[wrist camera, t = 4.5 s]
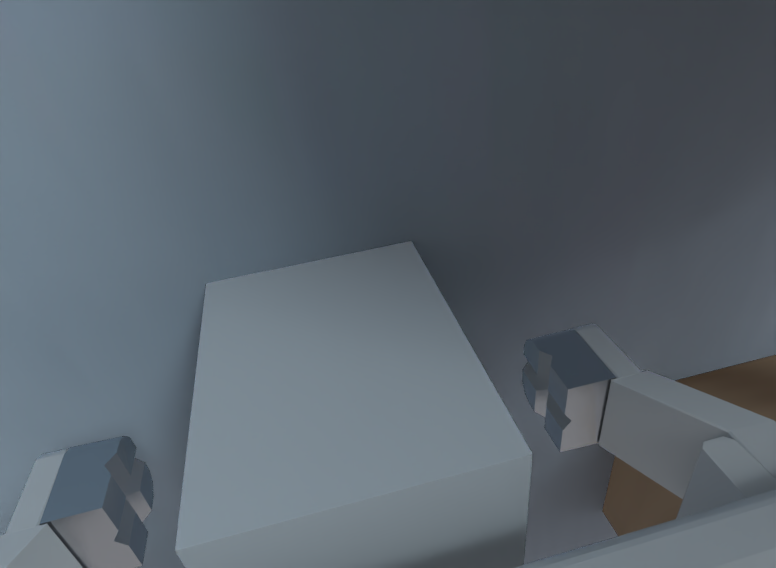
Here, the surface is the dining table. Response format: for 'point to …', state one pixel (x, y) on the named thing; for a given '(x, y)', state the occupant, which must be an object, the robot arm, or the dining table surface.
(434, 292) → the grey block
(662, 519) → the walnut block
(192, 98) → the dining table surface
